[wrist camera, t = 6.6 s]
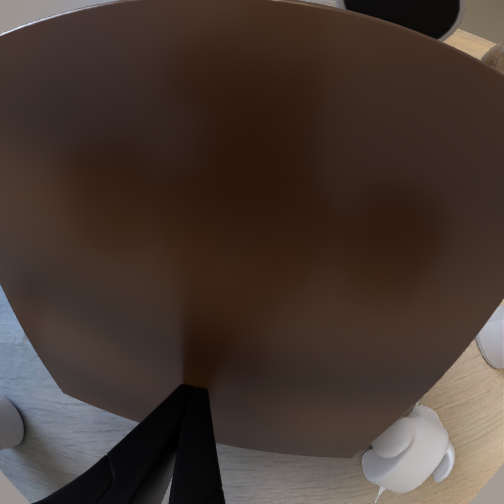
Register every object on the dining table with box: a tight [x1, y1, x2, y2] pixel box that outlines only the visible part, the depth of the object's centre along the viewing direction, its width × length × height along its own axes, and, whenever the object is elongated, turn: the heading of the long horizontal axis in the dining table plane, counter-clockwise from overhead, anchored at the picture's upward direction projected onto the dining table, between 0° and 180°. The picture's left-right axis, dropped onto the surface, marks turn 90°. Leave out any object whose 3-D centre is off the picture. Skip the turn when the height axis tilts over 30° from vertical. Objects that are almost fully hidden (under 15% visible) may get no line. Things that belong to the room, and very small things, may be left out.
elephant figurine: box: [362, 399, 455, 504], centre depth 16 cm, size 7×8×6 cm
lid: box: [0, 0, 504, 458], centre depth 8 cm, size 14×14×1 cm
